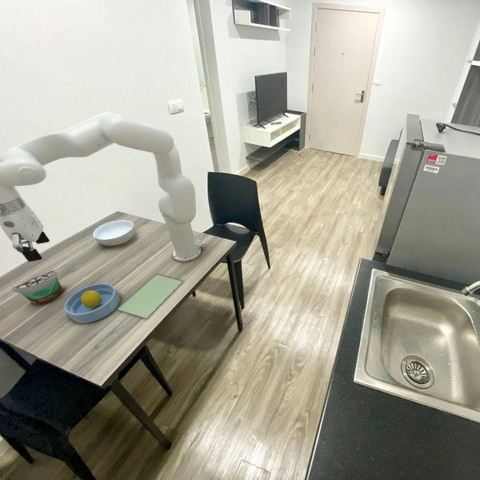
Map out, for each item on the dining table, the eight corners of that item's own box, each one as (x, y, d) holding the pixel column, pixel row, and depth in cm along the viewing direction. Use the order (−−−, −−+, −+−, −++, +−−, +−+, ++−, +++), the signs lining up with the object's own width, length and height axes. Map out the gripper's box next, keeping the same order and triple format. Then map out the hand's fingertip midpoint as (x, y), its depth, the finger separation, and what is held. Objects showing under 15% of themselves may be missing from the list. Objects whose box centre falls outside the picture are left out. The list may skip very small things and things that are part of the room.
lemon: (96, 313, 97) (86, 299, 93) (83, 310, 98) (72, 296, 93) (108, 302, 102) (99, 288, 97) (96, 299, 102) (86, 285, 98)
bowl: (113, 286, 109) (108, 277, 106) (125, 307, 101) (120, 298, 98) (66, 306, 99) (60, 297, 96) (76, 331, 92) (69, 322, 89)
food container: (33, 312, 96) (16, 294, 90) (26, 305, 98) (9, 286, 93) (73, 292, 105) (60, 274, 99) (66, 285, 107) (53, 267, 101)
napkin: (157, 275, 115) (156, 274, 115) (182, 282, 113) (182, 281, 113) (117, 309, 100) (117, 309, 100) (146, 318, 98) (146, 318, 97)
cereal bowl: (116, 228, 140) (111, 217, 136) (145, 233, 139) (141, 222, 134) (90, 248, 126) (83, 236, 122) (122, 253, 125) (116, 241, 121)
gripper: (14, 216, 70) (48, 264, 80) (32, 189, 82) (60, 234, 92) (-26, 222, 67) (15, 271, 77) (-2, 193, 79) (32, 239, 89)
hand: (39, 251), depth 84 cm, fingers open, 9 cm apart
